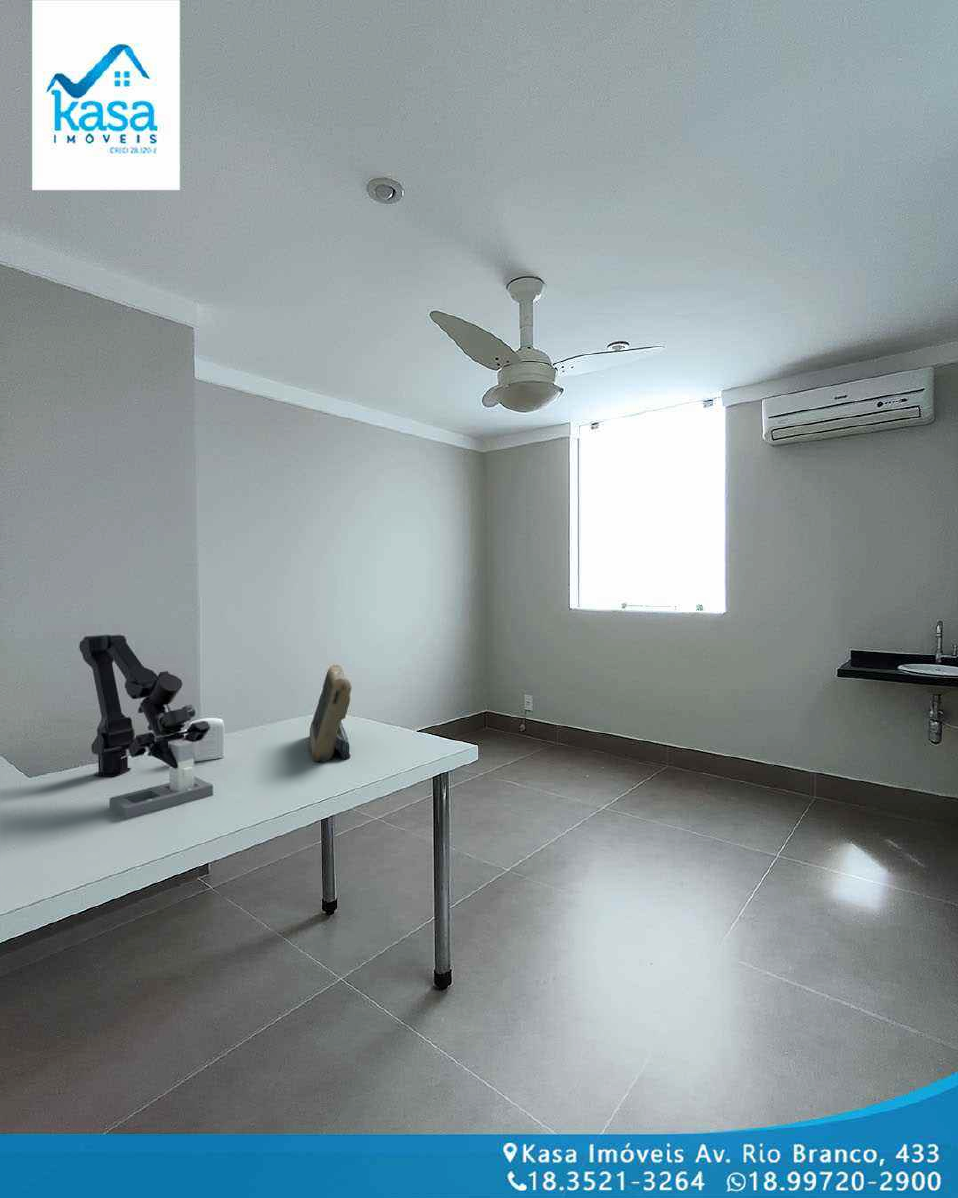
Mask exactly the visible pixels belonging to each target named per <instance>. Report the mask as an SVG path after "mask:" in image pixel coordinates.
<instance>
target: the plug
mask: <svg viewBox="0 0 958 1198" xmlns="http://www.w3.org/2000/svg"><path fill="white" fill-rule="evenodd" d="M168 744H169V748H170V750H171V752H172V754H173V756H174V758H175V759H176V762H177V764H178V767H177V769H174V768H173V767H171V766H170V765H168V766H169V771H168V772H169V783H170V790H171V791H173V792H178V791H182V790H186V789H190V788H193V787H194V777H195V762H194V742H190V741H186V740H182V741H180V740H179V741H175V742H174V741H173V742H170V743H168Z"/></svg>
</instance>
